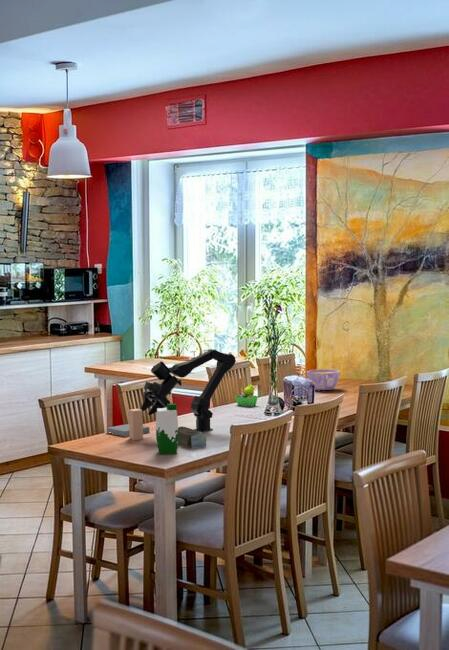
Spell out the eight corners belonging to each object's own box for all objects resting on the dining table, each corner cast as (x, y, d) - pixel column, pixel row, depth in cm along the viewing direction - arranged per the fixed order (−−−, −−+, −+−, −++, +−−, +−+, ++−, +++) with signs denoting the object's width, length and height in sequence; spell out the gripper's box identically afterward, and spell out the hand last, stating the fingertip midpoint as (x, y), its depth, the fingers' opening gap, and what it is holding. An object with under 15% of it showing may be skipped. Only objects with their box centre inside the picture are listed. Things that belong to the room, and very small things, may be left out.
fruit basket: (234, 405, 482) (233, 384, 481) (245, 403, 488) (245, 383, 487) (248, 407, 474) (248, 386, 473) (260, 405, 480) (260, 384, 479)
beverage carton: (191, 449, 370) (190, 433, 370) (167, 442, 386) (167, 427, 386) (207, 446, 375) (206, 431, 374) (183, 440, 391) (182, 425, 390)
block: (138, 437, 397) (138, 408, 397) (142, 439, 394) (142, 410, 393) (129, 438, 395) (128, 409, 394) (133, 440, 391) (132, 411, 390)
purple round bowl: (335, 393, 518) (335, 373, 518) (302, 392, 526) (302, 372, 525) (343, 388, 537) (343, 369, 536) (311, 387, 544) (311, 368, 543)
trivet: (149, 432, 408) (149, 427, 408) (125, 436, 399) (124, 431, 399) (131, 428, 419) (131, 423, 418) (106, 433, 409) (106, 427, 409)
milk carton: (178, 454, 360) (177, 405, 359) (156, 455, 359) (155, 406, 358) (178, 449, 369) (177, 402, 368) (156, 450, 368) (155, 403, 367)
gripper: (146, 373, 405) (124, 399, 401) (163, 377, 389) (140, 404, 384) (162, 388, 410) (140, 414, 405) (179, 393, 393) (157, 420, 389)
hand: (144, 413), depth 396 cm, fingers open, 9 cm apart
